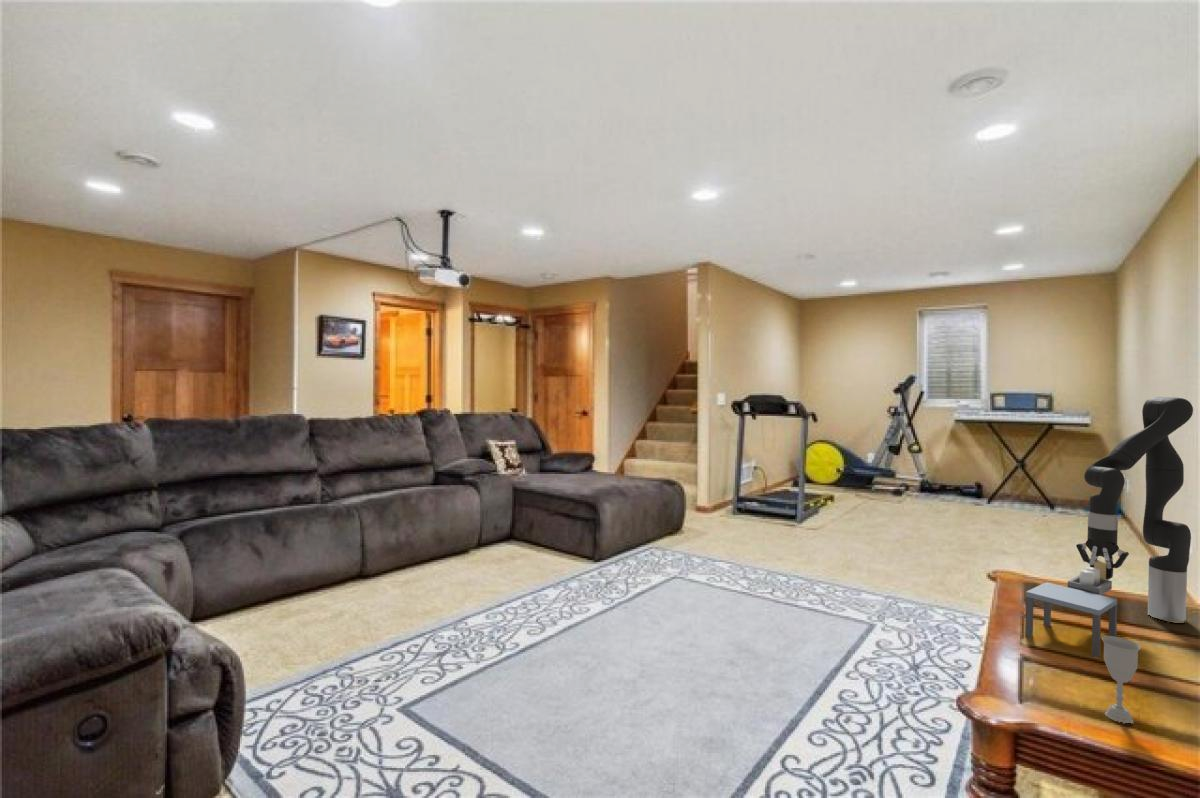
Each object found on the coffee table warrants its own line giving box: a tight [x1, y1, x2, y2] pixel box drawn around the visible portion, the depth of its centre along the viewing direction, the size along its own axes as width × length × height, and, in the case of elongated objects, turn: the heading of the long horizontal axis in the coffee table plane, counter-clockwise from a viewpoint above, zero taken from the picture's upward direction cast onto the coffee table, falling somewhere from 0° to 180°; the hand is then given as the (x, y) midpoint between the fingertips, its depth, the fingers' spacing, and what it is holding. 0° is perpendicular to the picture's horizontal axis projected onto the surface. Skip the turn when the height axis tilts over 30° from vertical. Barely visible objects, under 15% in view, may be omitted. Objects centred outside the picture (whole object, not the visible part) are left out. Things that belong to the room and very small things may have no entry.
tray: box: [1067, 559, 1113, 596], centre depth 187 cm, size 18×8×7 cm, turn 124°
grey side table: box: [1024, 581, 1118, 659], centre depth 177 cm, size 16×18×14 cm
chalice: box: [1101, 635, 1142, 725], centre depth 135 cm, size 7×7×18 cm
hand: (1101, 577), depth 192 cm, fingers closed on tray, 3 cm apart
